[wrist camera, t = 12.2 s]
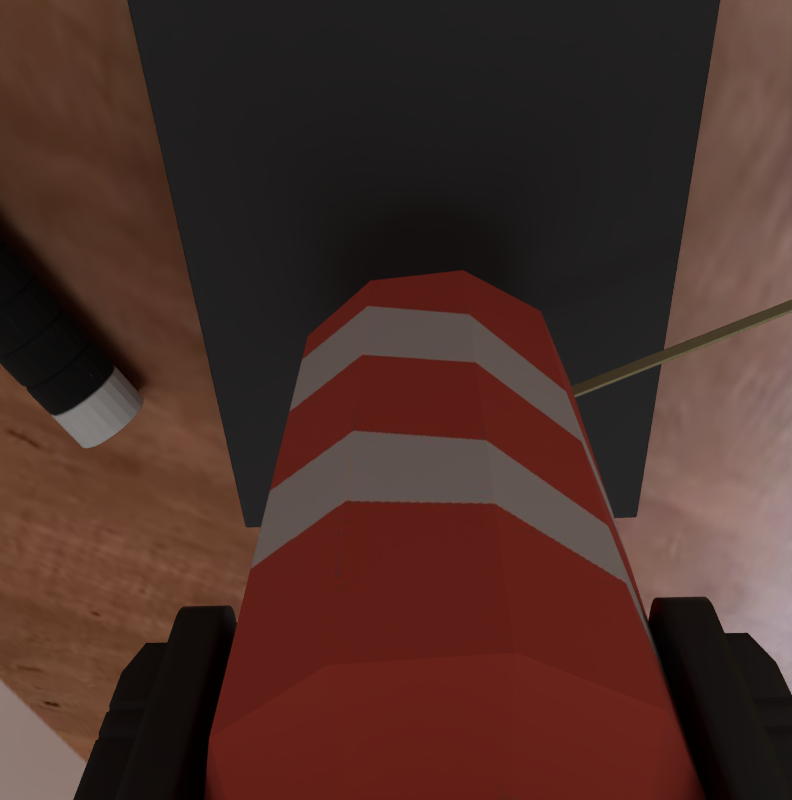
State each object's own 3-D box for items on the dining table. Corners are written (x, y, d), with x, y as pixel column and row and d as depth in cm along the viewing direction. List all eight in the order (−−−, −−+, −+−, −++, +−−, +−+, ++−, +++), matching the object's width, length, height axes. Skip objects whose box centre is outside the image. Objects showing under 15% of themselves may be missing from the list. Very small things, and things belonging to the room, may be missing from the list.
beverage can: (371, 209, 16) (300, 732, 6) (615, 339, 17) (888, 924, 7) (260, 415, 19) (85, 995, 9) (476, 510, 20) (538, 1093, 10)
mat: (250, 509, 28) (245, 527, 27) (129, -52, 18) (115, -50, 17) (630, 499, 27) (637, 517, 26) (720, -90, 17) (735, -90, 17)
